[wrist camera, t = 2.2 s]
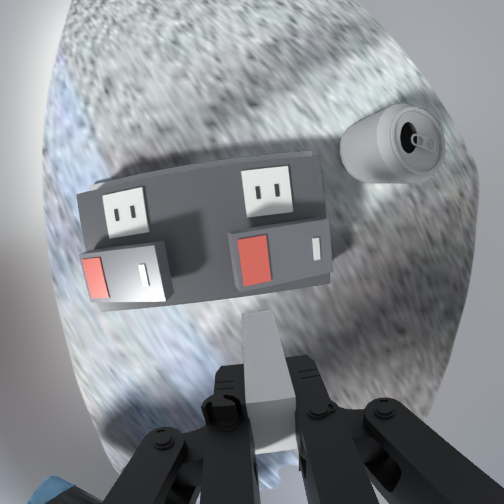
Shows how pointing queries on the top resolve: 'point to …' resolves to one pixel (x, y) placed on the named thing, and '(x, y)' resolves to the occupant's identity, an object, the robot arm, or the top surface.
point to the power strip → (203, 217)
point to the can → (394, 146)
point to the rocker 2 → (280, 253)
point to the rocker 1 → (128, 273)
